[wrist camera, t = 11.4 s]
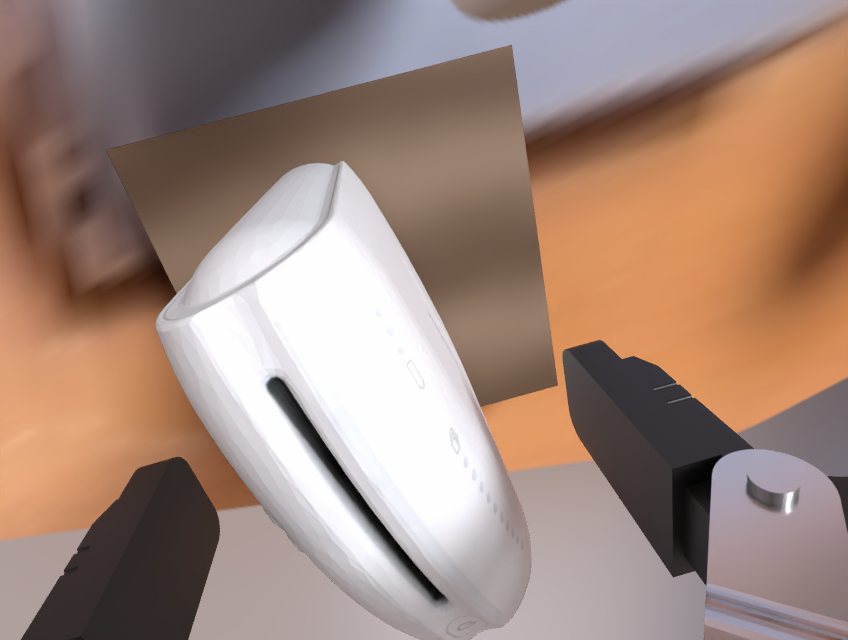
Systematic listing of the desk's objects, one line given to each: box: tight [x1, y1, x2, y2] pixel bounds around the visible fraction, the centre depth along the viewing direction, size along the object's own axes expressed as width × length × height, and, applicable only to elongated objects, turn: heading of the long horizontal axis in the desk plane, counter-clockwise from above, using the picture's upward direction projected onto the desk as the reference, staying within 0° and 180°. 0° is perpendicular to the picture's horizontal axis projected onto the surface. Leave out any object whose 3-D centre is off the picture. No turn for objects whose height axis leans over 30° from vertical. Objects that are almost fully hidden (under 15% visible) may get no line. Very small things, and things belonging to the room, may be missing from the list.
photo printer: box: [156, 161, 531, 640], centre depth 13 cm, size 10×4×12 cm, turn 27°
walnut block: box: [106, 45, 558, 407], centre depth 21 cm, size 14×14×4 cm
